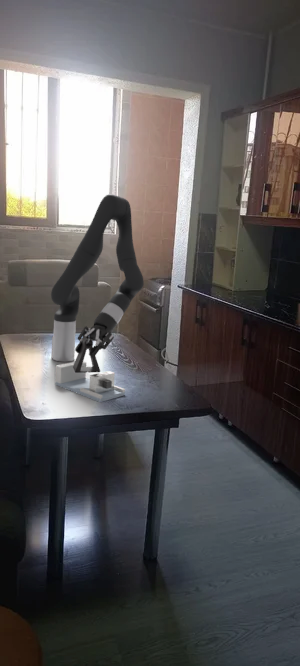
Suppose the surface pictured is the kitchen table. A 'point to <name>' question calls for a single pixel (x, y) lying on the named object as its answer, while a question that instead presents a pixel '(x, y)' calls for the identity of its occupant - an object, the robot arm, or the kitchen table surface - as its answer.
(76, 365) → the phone stand
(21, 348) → the kitchen table surface
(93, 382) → the block
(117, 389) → the vise body
